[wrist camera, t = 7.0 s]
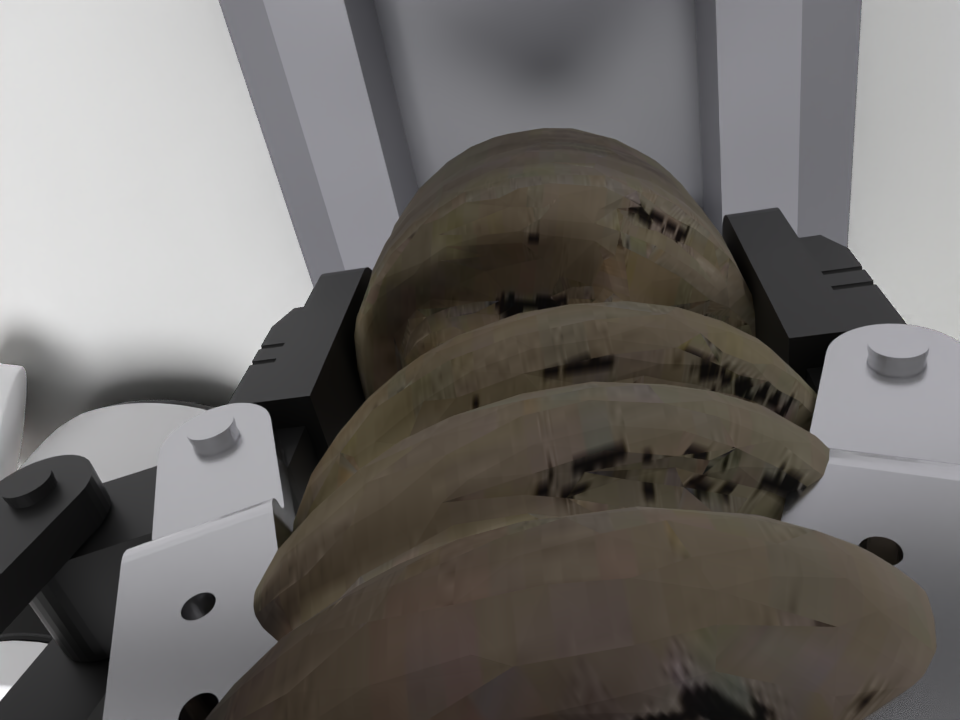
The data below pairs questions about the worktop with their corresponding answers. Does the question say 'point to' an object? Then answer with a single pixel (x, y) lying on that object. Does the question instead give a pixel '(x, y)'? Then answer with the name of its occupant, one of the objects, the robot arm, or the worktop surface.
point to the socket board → (548, 100)
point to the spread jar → (112, 452)
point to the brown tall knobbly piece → (571, 478)
